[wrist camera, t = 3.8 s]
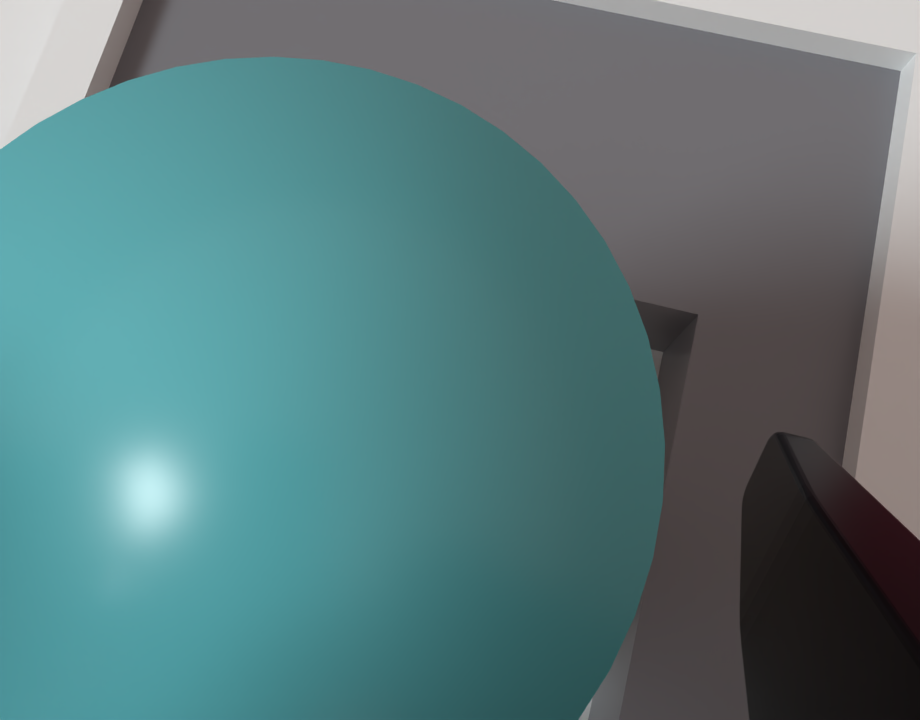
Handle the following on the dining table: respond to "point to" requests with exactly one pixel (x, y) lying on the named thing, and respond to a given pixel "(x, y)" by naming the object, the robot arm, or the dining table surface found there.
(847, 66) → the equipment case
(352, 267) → the ball
